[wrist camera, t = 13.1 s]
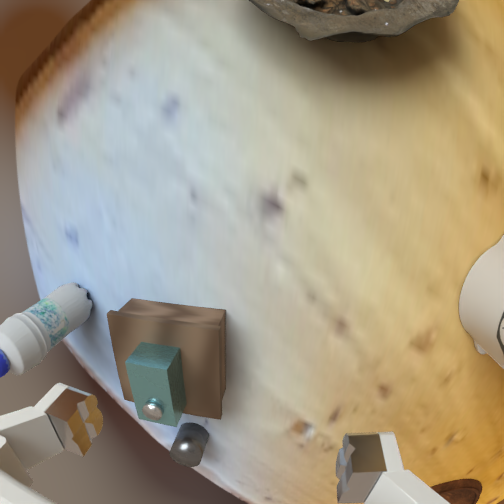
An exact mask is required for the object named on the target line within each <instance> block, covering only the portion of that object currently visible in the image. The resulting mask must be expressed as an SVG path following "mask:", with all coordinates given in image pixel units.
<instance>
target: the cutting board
mask: <svg viewBox="0 0 504 504" xmlns="http://www.w3.org/2000/svg"><path fill="white" fill-rule="evenodd" d="M430 488H431V489H433V490H434V491H435V492H436V493H438V494H439V495H440V496H441V497H443V498H444V499H445V500H446V501H448V502H449V503H450V504H476V503H477V501H478V499H479V496H480V494H481V491H482V486H481V483H480V482H479V481H477V480H474V479H460V480H454V481H450V482H446V483H442V484H439V485H435V486H432V487H430Z"/></svg>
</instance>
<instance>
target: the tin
mask: <svg viewBox="0 0 504 504" xmlns="http://www.w3.org/2000/svg"><path fill="white" fill-rule="evenodd" d="M208 437H209V434H208V432H207V430H206V429H205V428H204V427H202V426H200V425H198V424H195V423H184V424H182V425H181V427H180V429H179V432H178V434H177V436H176V439H175V441H174V443H173V445H172V448H171V450H170V456H171V458H172V459H173V460H174V461H175V462H177V463H179V464H181V465H184V466H188V467H194V466H198V465H199V464H200V461H201V458H202V455H203V452H204V449H205V446H206V443H207V440H208Z"/></svg>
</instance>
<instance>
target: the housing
mask: <svg viewBox="0 0 504 504" xmlns="http://www.w3.org/2000/svg"><path fill="white" fill-rule="evenodd" d="M125 365H126V369H127V374H128V378H129V382H130V386H131V390H132V394H133V398H134V402H135V406H136V410H137V413H138V417H139V419H143V420H147V421H151V422H155V423H160V424H164V425H169V426H174V427H177V425H178V422H179V420H180V418H181V416H182V413H183V411H184V409H185V407H186V404H187V402H186V394H185V386H184V378H183V370H182V361H181V352H180V348H179V347H172V346H165V345H159V344H153V343H146V342H141V343H140V344H139V345H138V346H137V347H136V349H135V350H134V351H133V352H132V354H131V355H130V356H129V357H128V359H127V360H126V361H125Z"/></svg>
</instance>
